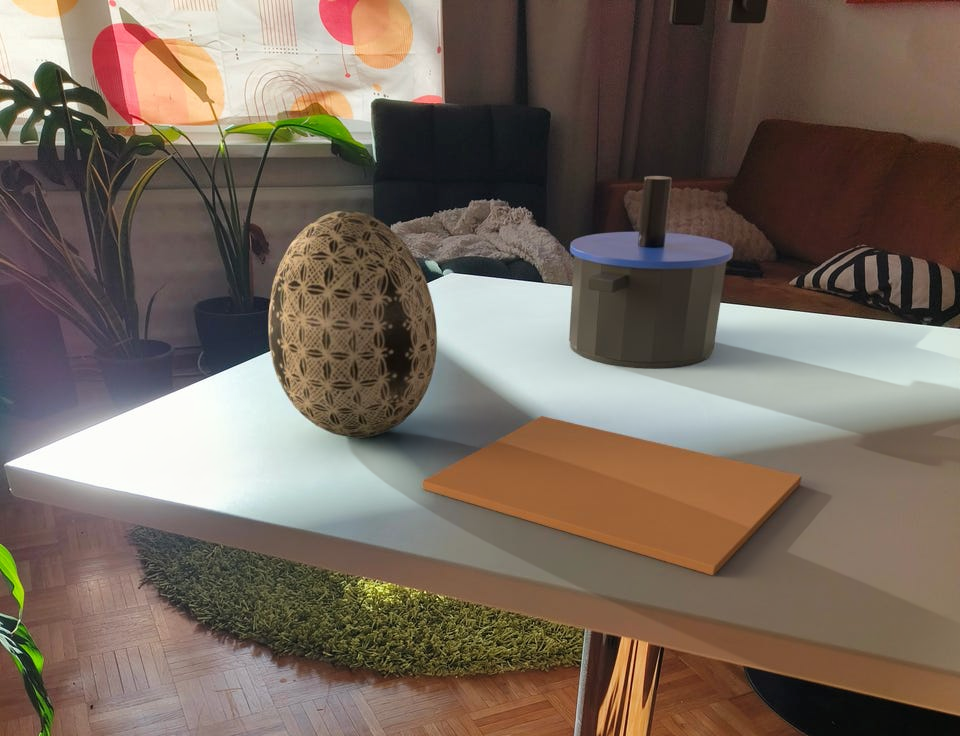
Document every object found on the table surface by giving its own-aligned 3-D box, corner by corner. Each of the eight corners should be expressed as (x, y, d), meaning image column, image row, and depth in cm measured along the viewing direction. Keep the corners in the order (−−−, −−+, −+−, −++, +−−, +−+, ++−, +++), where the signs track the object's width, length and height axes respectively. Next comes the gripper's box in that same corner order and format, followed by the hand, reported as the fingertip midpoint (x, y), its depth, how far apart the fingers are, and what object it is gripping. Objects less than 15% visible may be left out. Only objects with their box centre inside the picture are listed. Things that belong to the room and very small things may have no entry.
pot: (743, 336, 89) (758, 245, 84) (663, 385, 76) (676, 280, 71) (621, 316, 96) (629, 230, 91) (528, 358, 82) (532, 260, 78)
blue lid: (754, 256, 83) (767, 175, 79) (692, 284, 73) (704, 193, 69) (614, 239, 90) (620, 164, 86) (540, 263, 80) (543, 179, 76)
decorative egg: (254, 426, 67) (224, 208, 59) (387, 397, 73) (376, 194, 65) (327, 476, 60) (303, 233, 51) (470, 439, 65) (469, 215, 57)
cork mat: (800, 484, 59) (802, 475, 59) (713, 576, 49) (715, 566, 48) (541, 423, 68) (541, 415, 68) (422, 489, 58) (422, 480, 58)
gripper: (866, -280, 61) (812, 23, 71) (731, -221, 75) (701, 26, 84) (772, -292, 59) (730, 21, 69) (650, -229, 73) (629, 25, 82)
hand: (714, 24), depth 76 cm, fingers open, 9 cm apart
